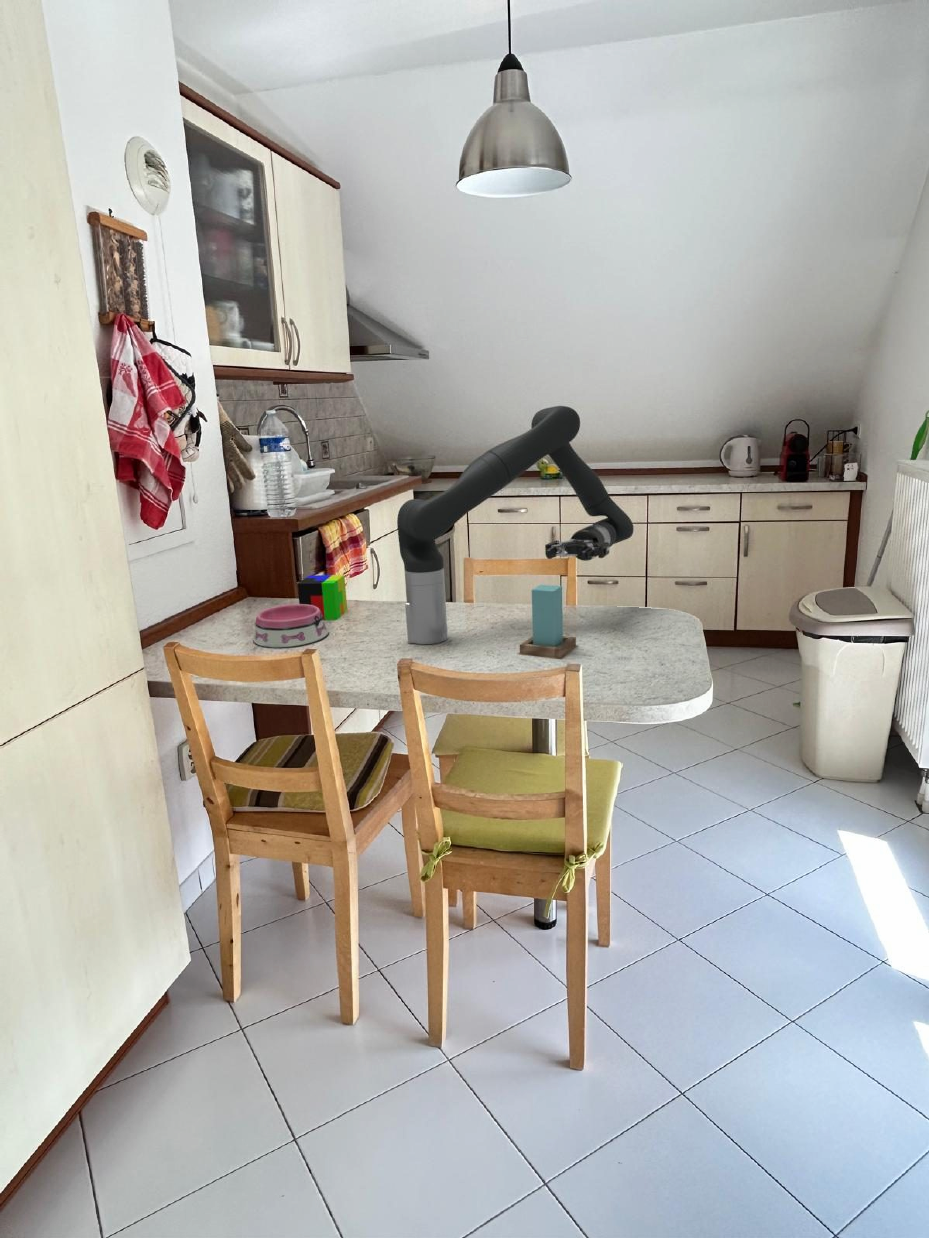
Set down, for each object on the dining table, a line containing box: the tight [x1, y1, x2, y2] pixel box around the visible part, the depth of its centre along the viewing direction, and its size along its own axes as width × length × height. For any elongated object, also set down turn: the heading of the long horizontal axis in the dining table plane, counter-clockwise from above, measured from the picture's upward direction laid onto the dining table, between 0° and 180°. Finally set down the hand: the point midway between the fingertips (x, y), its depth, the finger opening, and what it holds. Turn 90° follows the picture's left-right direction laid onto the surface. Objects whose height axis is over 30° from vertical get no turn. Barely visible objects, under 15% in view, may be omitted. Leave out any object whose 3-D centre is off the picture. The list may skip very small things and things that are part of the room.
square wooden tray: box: [517, 635, 579, 660], centre depth 182 cm, size 10×10×3 cm
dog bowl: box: [252, 603, 330, 650], centre depth 204 cm, size 18×19×7 cm
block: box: [531, 584, 564, 647], centre depth 180 cm, size 5×5×14 cm
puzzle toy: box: [297, 574, 348, 621], centre depth 224 cm, size 10×10×10 cm
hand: (565, 555), depth 187 cm, fingers open, 8 cm apart
